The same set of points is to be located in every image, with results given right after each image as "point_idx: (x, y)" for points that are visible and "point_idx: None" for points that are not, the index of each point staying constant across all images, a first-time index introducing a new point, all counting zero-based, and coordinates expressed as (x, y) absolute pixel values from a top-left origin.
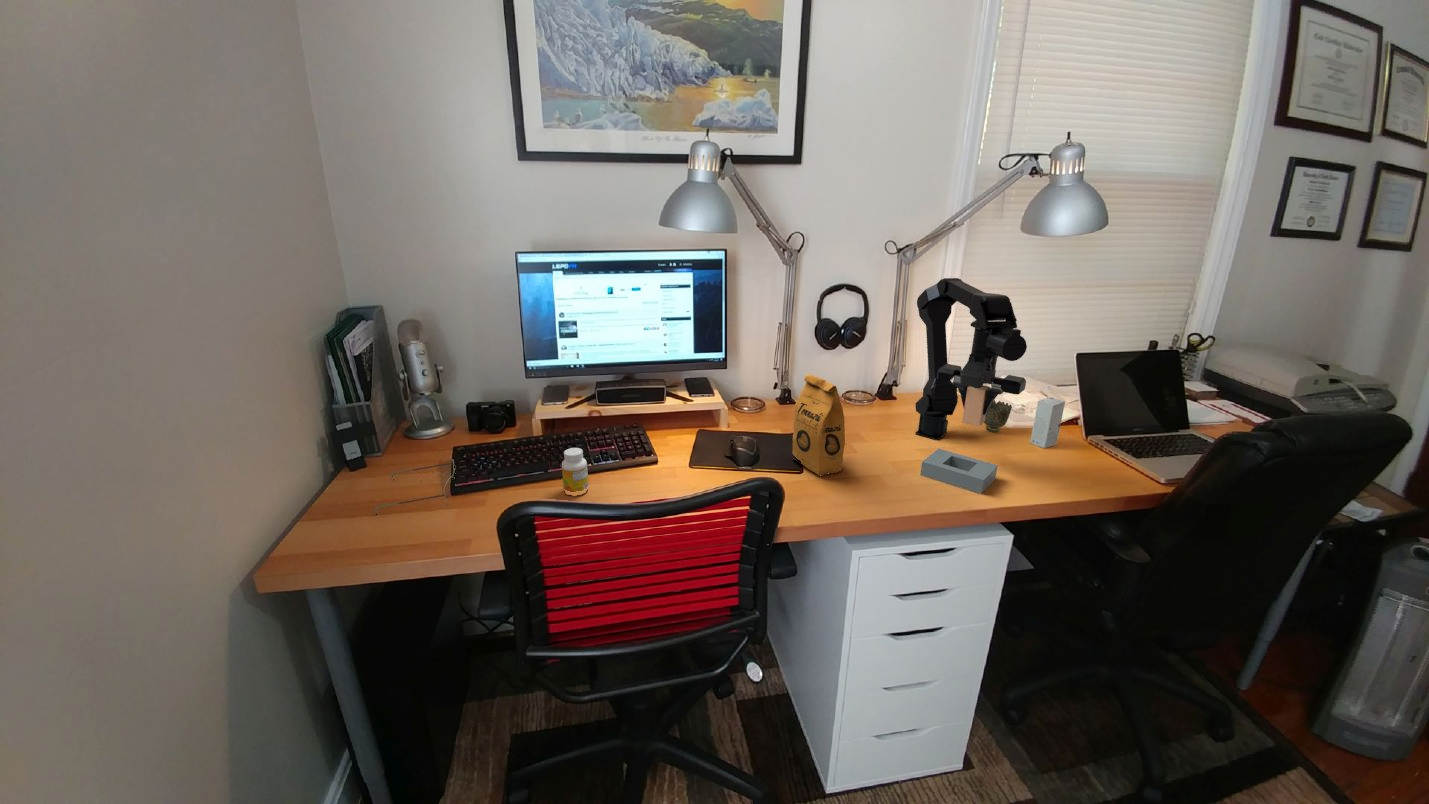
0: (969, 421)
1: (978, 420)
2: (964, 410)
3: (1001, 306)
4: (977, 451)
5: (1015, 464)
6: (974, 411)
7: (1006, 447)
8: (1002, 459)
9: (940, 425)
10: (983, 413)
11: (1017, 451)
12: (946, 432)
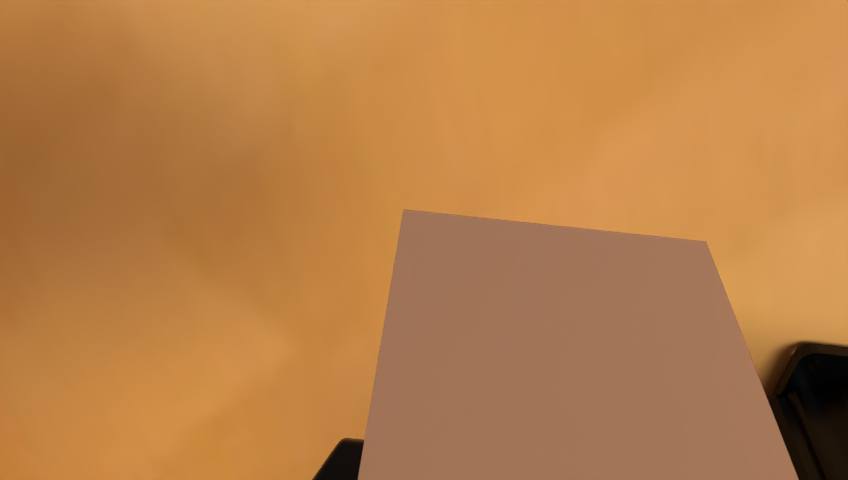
0: (584, 262)
1: (421, 281)
2: (765, 428)
3: None
4: None
5: (177, 227)
6: (533, 427)
7: (324, 441)
8: (282, 262)
9: (833, 469)
10: (357, 458)
11: (248, 418)
12: None
